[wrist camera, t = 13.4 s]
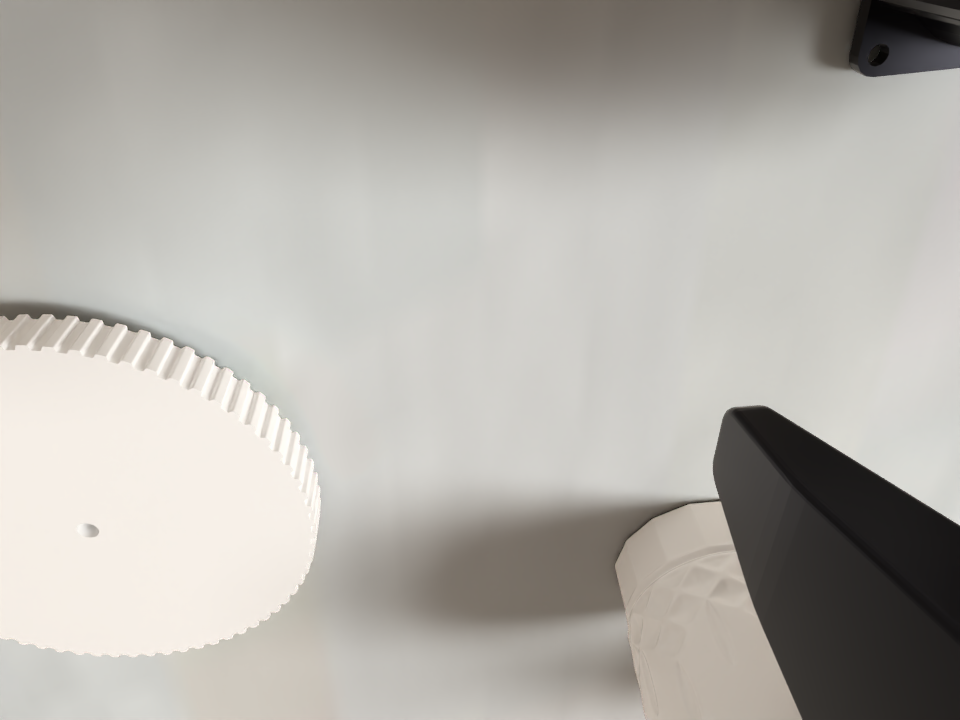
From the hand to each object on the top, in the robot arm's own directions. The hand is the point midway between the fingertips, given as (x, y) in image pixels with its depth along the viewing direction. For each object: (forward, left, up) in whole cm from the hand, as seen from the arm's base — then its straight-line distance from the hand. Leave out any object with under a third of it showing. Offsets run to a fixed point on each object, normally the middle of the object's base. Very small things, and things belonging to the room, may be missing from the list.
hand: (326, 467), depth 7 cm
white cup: (-10, +18, -12) cm, 24 cm away
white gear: (+11, +10, -12) cm, 19 cm away
